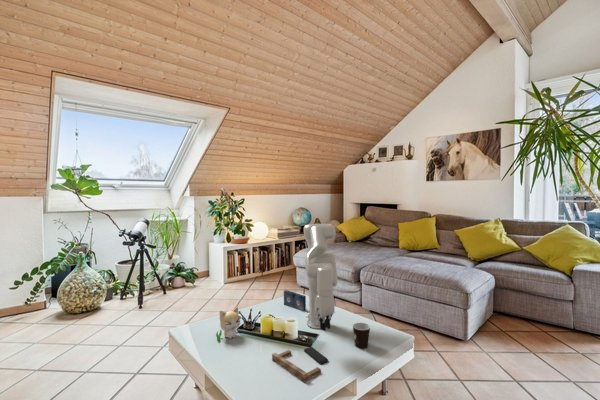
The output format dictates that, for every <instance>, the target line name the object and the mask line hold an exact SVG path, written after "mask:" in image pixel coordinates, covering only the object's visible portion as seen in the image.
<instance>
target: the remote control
mask: <svg viewBox="0 0 600 400" xmlns="http://www.w3.org/2000/svg"><path fill="white" fill-rule="evenodd" d="M303 352H304V353H305V354H306V355H308V356H309V357H310V358H311V359H312V360H314V361H315V362H316V363H317V364H318V365H320V366H323V365H326V364H328V363H329V359H328V358H327V357H326V356H324V354H321V352H320V351H318V350H317V349H315V348H314V347H313V346H309V347H306V348H304V349H303Z"/></svg>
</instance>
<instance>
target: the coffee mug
mask: <svg viewBox="0 0 600 400" xmlns="http://www.w3.org/2000/svg"><path fill="white" fill-rule="evenodd" d="M352 330H353V331H352V332H353V338H354V339H353V340H354V347H356V348H357V349H362V350H364V349H367V348H368V346H369V339H370V331H371V326H370V325H369V324H368V323H365V322H356V323H354V324H352Z"/></svg>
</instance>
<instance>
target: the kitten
mask: <svg viewBox="0 0 600 400" xmlns="http://www.w3.org/2000/svg"><path fill="white" fill-rule="evenodd" d="M219 325H220V326H219V327H220V330H219V331H218V330H217V331H216V334H215V337H216V340H217V341H221V337H222V331H223V335H224V337H226V338H229V339H231V340H232V338H233V339H234V338H235V337H236V335H237V328H239V327H240V325H241V318H240V315H239V307H238V306H235V308H234V309H233V310H229V311H223V310H219ZM218 332H219V333H218Z"/></svg>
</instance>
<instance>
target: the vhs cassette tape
mask: <svg viewBox="0 0 600 400" xmlns="http://www.w3.org/2000/svg"><path fill="white" fill-rule="evenodd" d="M306 298H307V297H306V295H304V294H301V293H297V292H294V291H290V290H288V289H285V290H283V305H284V306H286V307H290V308H292V309H295V310H298V311H300V312H305V311H306V310H307V309H306V307H307V306H306Z"/></svg>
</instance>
